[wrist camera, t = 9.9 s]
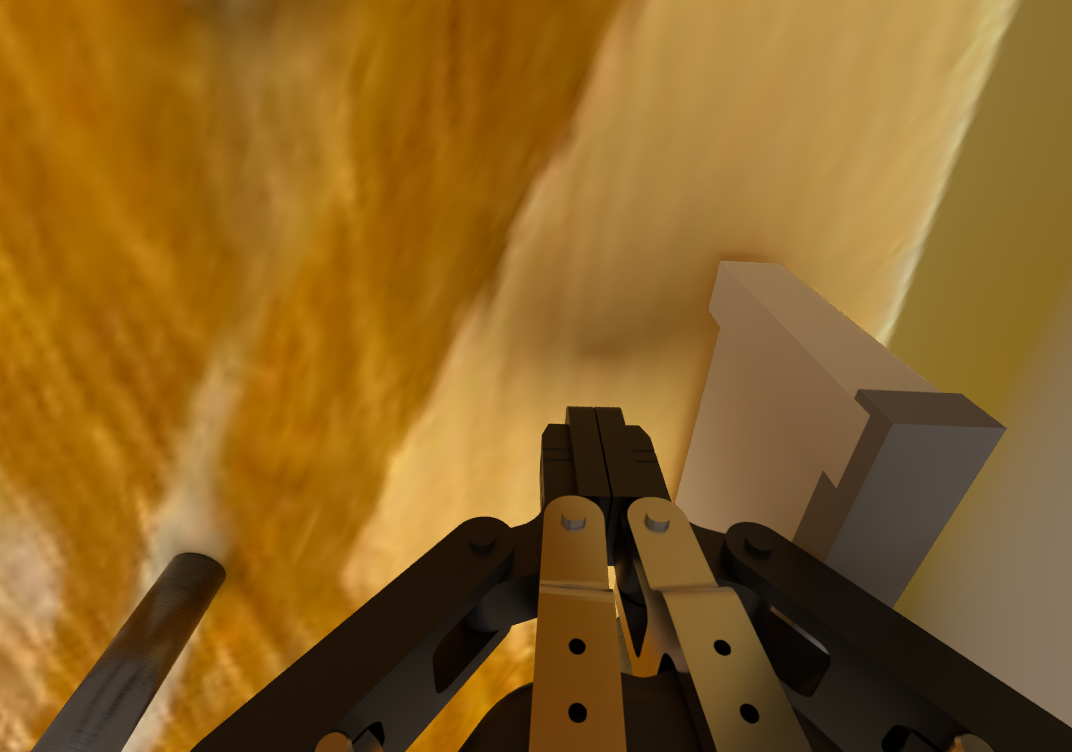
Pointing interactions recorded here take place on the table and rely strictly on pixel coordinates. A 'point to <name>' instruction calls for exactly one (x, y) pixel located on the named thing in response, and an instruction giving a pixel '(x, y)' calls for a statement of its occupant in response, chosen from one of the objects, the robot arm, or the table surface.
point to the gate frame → (150, 660)
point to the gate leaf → (825, 435)
